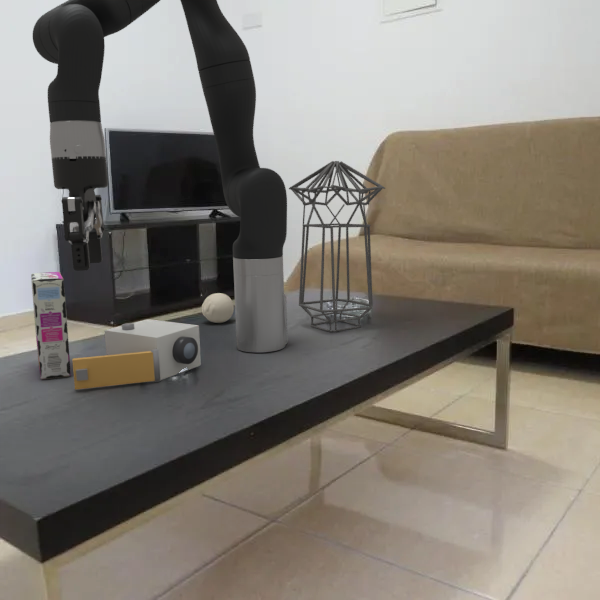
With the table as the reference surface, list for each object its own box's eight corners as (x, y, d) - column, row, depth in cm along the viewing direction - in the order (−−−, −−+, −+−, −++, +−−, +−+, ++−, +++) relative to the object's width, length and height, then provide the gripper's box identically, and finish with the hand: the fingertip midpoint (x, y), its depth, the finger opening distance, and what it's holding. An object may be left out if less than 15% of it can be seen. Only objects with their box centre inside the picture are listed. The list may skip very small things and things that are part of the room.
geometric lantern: (286, 325, 142) (284, 162, 137) (346, 318, 150) (346, 163, 144) (326, 337, 128) (325, 157, 123) (388, 329, 136) (390, 159, 131)
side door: (160, 379, 103) (158, 348, 102) (161, 382, 101) (159, 351, 100) (75, 388, 99) (72, 357, 98) (75, 392, 98) (72, 359, 97)
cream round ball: (195, 323, 146) (194, 294, 145) (221, 318, 151) (220, 289, 150) (213, 327, 141) (212, 297, 140) (240, 322, 146) (238, 292, 145)
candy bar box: (73, 376, 106) (64, 277, 103) (40, 381, 104) (30, 280, 102) (68, 360, 116) (60, 270, 114) (38, 364, 115) (29, 272, 112)
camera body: (150, 356, 118) (147, 314, 116) (208, 366, 110) (206, 321, 109) (107, 370, 109) (103, 325, 108) (167, 382, 102) (164, 333, 101)
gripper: (65, 158, 101) (75, 261, 103) (37, 154, 87) (49, 274, 89) (114, 156, 101) (122, 259, 104) (94, 152, 87) (104, 271, 90)
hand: (88, 266), depth 97 cm, fingers open, 8 cm apart
